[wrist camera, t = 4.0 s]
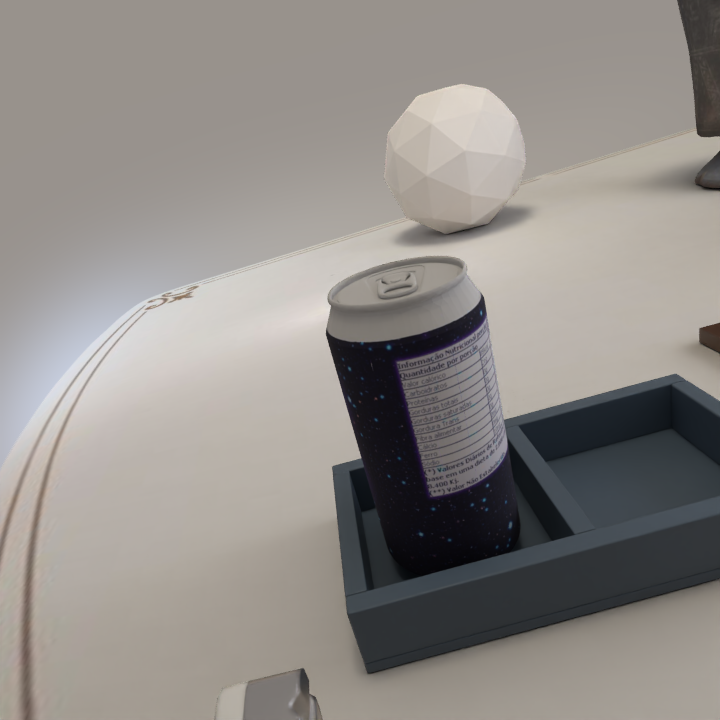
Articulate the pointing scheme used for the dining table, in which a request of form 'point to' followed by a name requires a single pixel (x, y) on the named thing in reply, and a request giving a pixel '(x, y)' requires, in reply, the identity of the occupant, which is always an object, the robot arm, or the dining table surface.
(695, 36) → the vase
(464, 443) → the beverage can
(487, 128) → the ball
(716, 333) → the walnut board
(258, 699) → the robot arm
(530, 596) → the divided tray
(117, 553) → the dining table surface
